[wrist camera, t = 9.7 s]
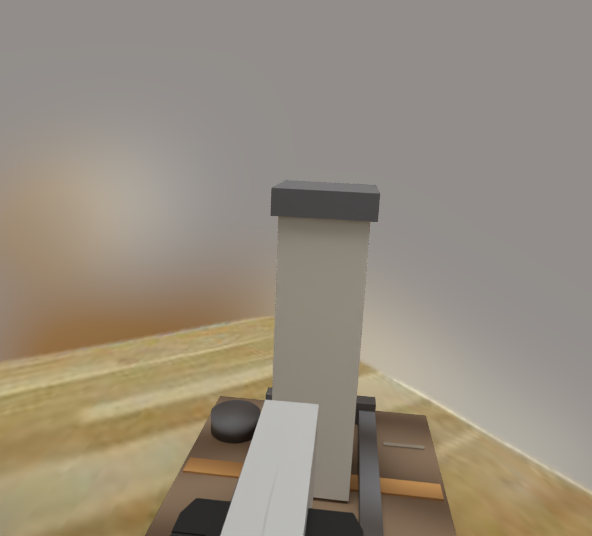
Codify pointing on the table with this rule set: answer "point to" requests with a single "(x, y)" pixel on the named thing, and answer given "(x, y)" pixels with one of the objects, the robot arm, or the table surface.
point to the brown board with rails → (363, 482)
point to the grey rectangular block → (322, 312)
